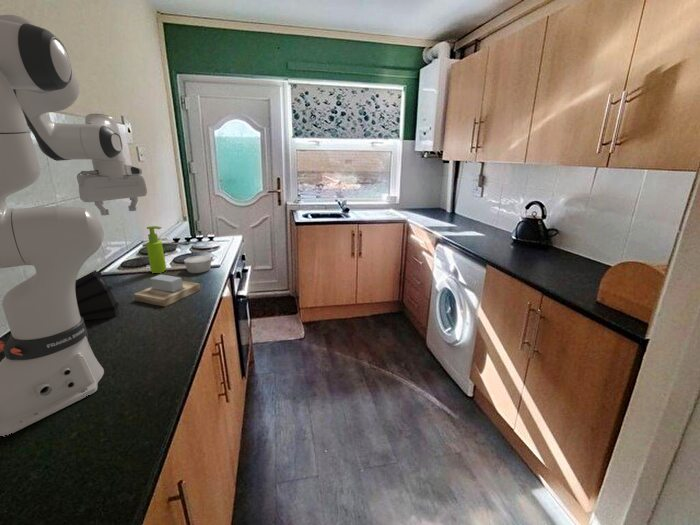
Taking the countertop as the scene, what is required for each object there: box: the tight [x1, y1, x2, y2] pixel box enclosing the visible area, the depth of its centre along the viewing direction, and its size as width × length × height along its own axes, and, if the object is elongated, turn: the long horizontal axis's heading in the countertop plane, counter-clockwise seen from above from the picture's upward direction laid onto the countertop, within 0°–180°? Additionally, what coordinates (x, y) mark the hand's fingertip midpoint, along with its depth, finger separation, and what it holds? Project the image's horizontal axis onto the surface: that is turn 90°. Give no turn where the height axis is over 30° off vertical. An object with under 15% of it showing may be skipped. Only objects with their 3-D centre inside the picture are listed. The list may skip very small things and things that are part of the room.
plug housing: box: [149, 273, 183, 292], centre depth 122 cm, size 10×4×4 cm, turn 69°
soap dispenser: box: [145, 225, 167, 274], centre depth 145 cm, size 6×7×20 cm
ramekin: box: [183, 255, 212, 274], centre depth 150 cm, size 11×11×5 cm
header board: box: [133, 280, 202, 307], centre depth 123 cm, size 16×14×5 cm
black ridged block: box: [75, 269, 120, 321], centre depth 105 cm, size 4×13×15 cm, turn 107°
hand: (119, 212), depth 112 cm, fingers open, 8 cm apart
